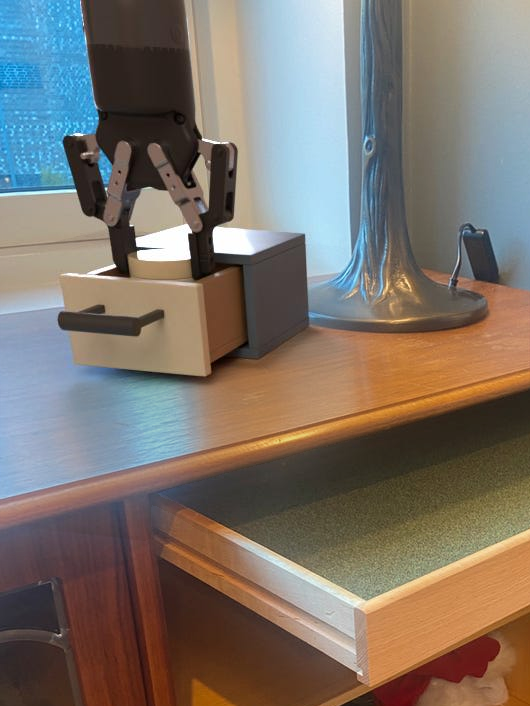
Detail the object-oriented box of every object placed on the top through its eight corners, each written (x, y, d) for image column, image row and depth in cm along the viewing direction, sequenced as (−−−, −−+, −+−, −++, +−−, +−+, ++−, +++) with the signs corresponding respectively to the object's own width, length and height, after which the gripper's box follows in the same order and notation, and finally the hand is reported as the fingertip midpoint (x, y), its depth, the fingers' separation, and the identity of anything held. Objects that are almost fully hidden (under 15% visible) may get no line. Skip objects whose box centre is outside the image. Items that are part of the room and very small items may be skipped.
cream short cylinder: (118, 286, 79) (114, 257, 78) (150, 274, 84) (146, 247, 83) (184, 290, 78) (181, 262, 77) (212, 278, 83) (210, 252, 82)
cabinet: (258, 359, 87) (251, 255, 82) (127, 347, 88) (112, 244, 84) (309, 325, 99) (305, 233, 95) (193, 315, 101) (184, 224, 97)
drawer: (175, 396, 73) (164, 300, 69) (35, 382, 74) (17, 287, 71) (264, 340, 89) (259, 260, 86) (148, 329, 91) (138, 250, 87)
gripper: (247, 48, 75) (262, 275, 83) (75, 40, 77) (107, 263, 85) (208, 44, 68) (229, 290, 77) (21, 35, 70) (62, 277, 79)
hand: (165, 275), depth 81 cm, fingers closed on cream short cylinder, 5 cm apart
